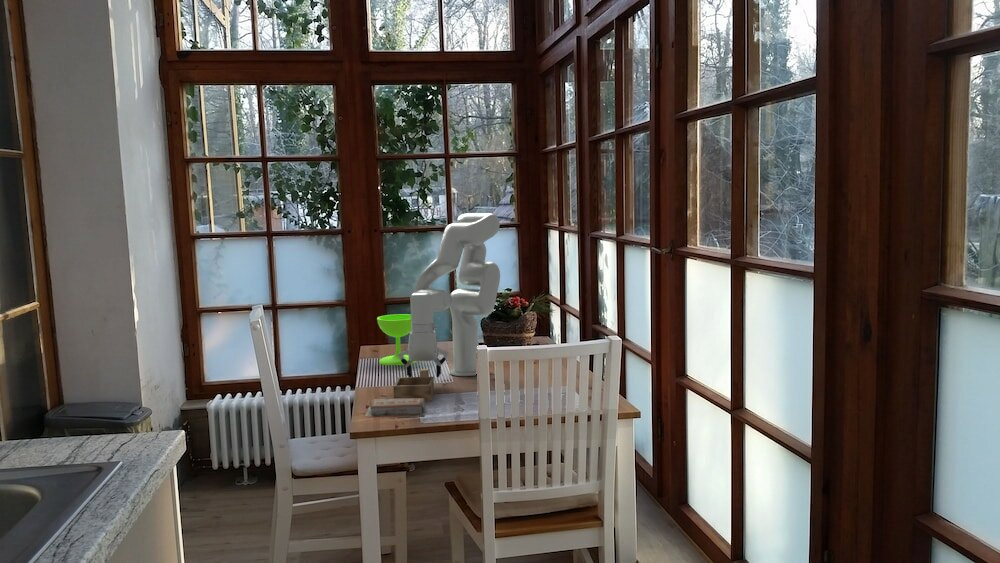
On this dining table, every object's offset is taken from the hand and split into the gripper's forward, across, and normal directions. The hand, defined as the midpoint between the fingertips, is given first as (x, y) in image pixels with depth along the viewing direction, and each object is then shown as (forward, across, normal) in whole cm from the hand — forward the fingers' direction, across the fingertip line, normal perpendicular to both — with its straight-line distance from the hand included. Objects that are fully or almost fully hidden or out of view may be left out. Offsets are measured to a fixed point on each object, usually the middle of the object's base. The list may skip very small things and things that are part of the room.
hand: (424, 377), depth 266 cm
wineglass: (+4, +14, -45) cm, 47 cm away
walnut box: (+4, +2, +15) cm, 16 cm away
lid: (+4, 0, 0) cm, 4 cm away
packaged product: (+4, +6, +32) cm, 32 cm away
